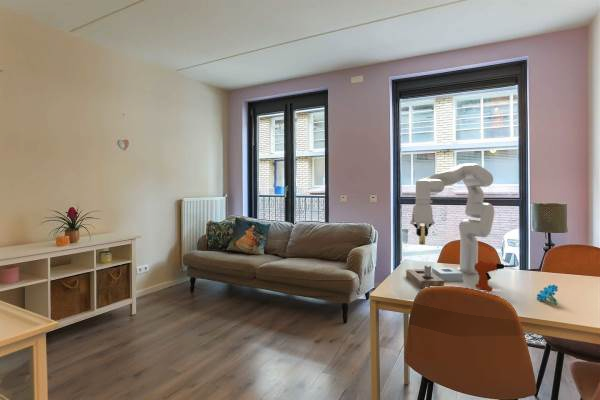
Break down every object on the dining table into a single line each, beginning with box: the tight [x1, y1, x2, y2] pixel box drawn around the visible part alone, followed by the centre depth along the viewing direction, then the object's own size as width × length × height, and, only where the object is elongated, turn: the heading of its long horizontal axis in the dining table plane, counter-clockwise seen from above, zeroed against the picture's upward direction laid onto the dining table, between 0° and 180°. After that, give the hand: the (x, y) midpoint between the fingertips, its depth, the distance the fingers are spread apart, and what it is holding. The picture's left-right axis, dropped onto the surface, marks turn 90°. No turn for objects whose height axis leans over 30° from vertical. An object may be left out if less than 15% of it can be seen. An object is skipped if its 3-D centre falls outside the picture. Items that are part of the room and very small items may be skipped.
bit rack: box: [405, 268, 445, 290], centre depth 185 cm, size 12×22×5 cm, turn 1°
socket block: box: [431, 266, 464, 282], centre depth 193 cm, size 12×12×5 cm
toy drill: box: [474, 260, 516, 292], centre depth 173 cm, size 5×19×15 cm, turn 64°
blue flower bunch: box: [536, 284, 559, 305], centre depth 158 cm, size 11×6×10 cm
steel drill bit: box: [424, 264, 432, 279], centre depth 179 cm, size 3×3×10 cm
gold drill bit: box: [418, 225, 426, 246], centre depth 188 cm, size 3×3×10 cm
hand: (422, 235), depth 188 cm, fingers closed on gold drill bit, 3 cm apart
